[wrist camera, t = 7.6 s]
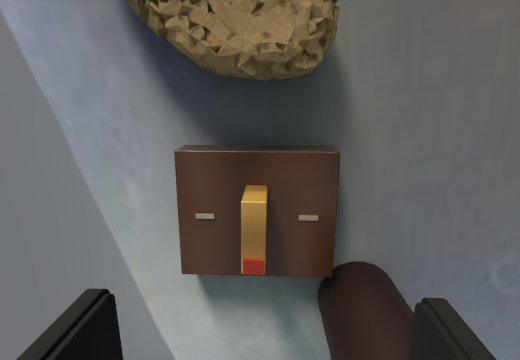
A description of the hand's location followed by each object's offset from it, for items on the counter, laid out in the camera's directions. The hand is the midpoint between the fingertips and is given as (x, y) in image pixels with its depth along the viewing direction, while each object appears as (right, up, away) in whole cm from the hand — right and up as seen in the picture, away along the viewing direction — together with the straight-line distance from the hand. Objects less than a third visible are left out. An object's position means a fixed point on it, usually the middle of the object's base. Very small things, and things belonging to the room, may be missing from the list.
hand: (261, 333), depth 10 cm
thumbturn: (0, +2, +14) cm, 14 cm away
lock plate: (0, +3, +17) cm, 17 cm away
